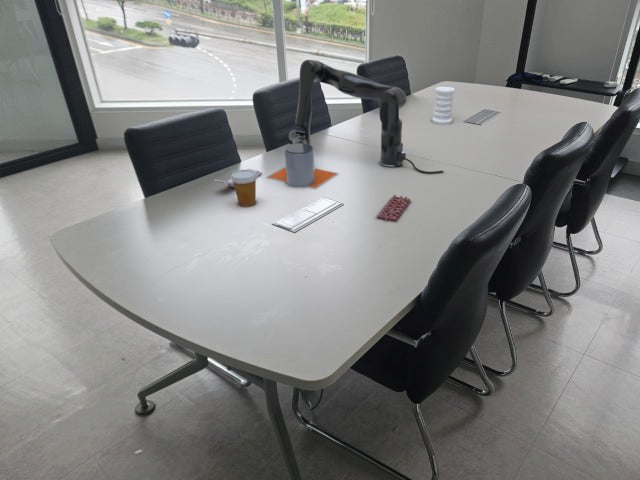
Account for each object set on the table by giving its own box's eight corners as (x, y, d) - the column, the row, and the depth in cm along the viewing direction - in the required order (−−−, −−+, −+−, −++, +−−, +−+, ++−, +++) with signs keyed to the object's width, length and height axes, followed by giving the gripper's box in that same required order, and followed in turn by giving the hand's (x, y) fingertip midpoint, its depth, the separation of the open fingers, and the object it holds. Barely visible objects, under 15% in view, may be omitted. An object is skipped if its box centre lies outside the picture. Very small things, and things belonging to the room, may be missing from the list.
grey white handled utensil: (213, 179, 202) (250, 159, 221) (215, 193, 205) (251, 172, 224) (225, 182, 200) (262, 161, 219) (227, 196, 203) (263, 174, 222)
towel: (337, 174, 224) (337, 173, 224) (314, 188, 210) (314, 187, 210) (292, 164, 233) (292, 163, 233) (268, 177, 219) (268, 176, 219)
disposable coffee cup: (264, 200, 200) (260, 171, 193) (251, 210, 192) (247, 180, 186) (243, 196, 202) (239, 168, 196) (229, 206, 195) (225, 176, 188)
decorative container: (453, 124, 289) (456, 91, 279) (433, 123, 289) (435, 91, 279) (450, 118, 299) (454, 86, 289) (431, 118, 299) (433, 86, 289)
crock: (320, 179, 218) (319, 145, 210) (305, 189, 209) (303, 154, 201) (297, 174, 222) (294, 141, 214) (281, 183, 213) (278, 149, 205)
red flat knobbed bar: (376, 219, 187) (376, 214, 186) (392, 199, 202) (392, 194, 201) (395, 222, 185) (395, 217, 184) (410, 201, 200) (410, 197, 199)
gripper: (284, 142, 229) (283, 155, 214) (313, 141, 230) (315, 154, 216) (285, 158, 233) (285, 172, 219) (314, 157, 234) (316, 171, 220)
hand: (300, 163), depth 217 cm, fingers closed
